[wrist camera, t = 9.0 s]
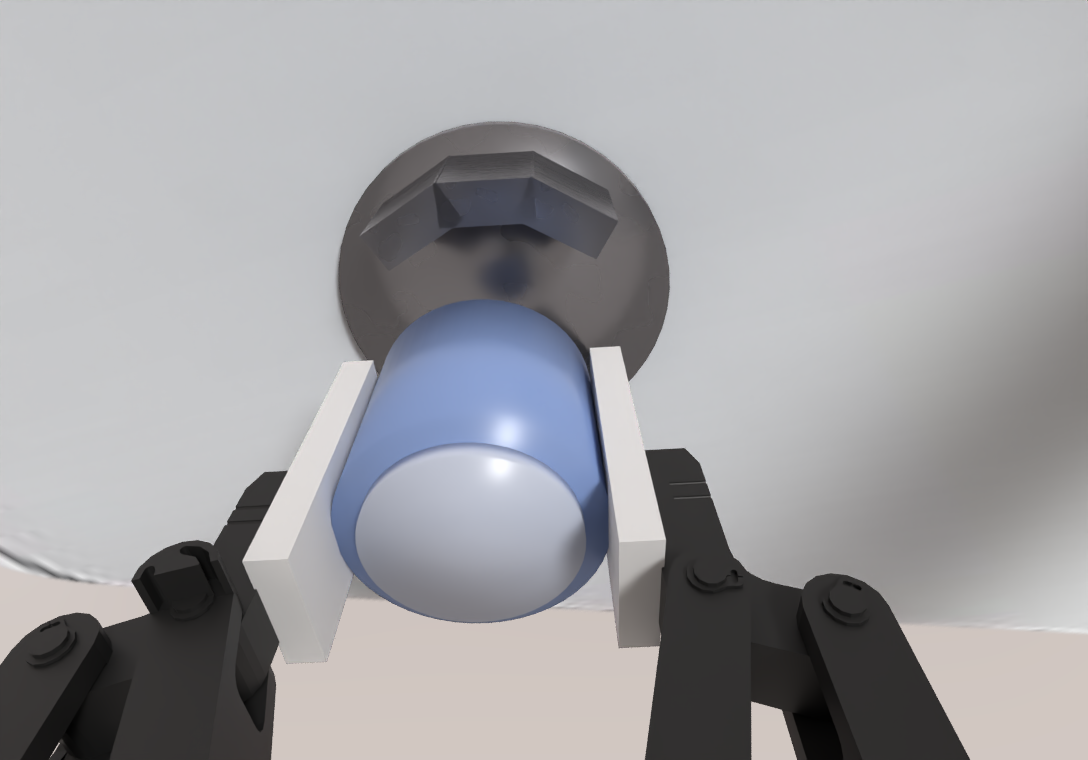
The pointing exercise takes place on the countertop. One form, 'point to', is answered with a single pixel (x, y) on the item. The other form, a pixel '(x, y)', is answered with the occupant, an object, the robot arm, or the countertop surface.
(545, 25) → the countertop surface
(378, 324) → the disc
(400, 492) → the blue dome-topped cylinder
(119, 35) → the countertop surface
